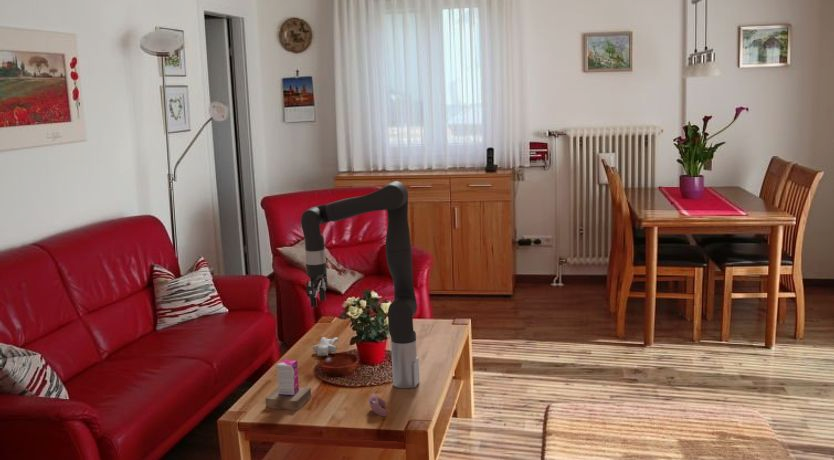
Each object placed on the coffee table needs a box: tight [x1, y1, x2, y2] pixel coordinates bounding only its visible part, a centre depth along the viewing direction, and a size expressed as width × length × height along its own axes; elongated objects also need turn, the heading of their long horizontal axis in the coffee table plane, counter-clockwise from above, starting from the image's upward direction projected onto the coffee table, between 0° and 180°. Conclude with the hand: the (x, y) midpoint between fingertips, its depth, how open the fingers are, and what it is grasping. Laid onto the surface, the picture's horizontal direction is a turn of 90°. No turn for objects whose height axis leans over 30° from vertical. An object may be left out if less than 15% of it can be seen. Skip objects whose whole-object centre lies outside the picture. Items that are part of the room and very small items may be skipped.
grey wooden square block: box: [264, 386, 312, 411], centre depth 300 cm, size 12×12×4 cm
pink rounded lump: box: [368, 393, 388, 417], centre depth 288 cm, size 10×5×7 cm, turn 5°
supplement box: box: [276, 359, 300, 396], centre depth 298 cm, size 6×6×12 cm
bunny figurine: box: [312, 336, 340, 357], centre depth 351 cm, size 10×5×15 cm
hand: (318, 303), depth 314 cm, fingers open, 8 cm apart
